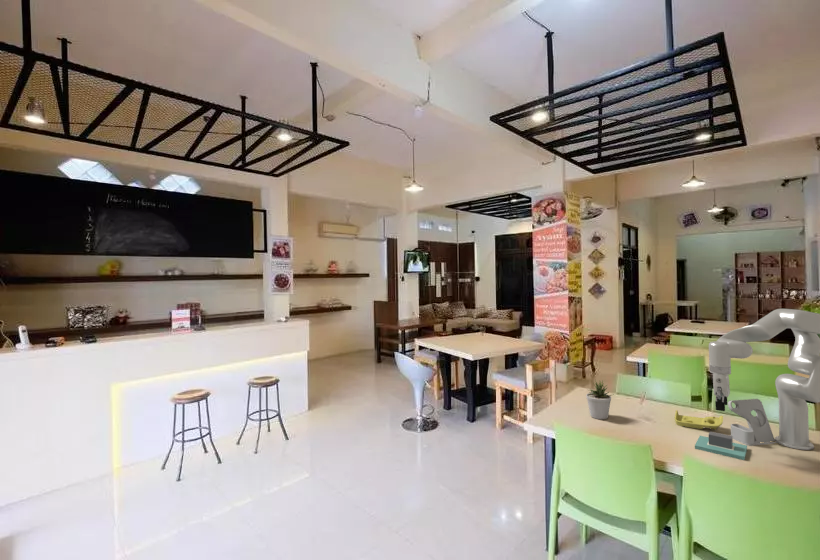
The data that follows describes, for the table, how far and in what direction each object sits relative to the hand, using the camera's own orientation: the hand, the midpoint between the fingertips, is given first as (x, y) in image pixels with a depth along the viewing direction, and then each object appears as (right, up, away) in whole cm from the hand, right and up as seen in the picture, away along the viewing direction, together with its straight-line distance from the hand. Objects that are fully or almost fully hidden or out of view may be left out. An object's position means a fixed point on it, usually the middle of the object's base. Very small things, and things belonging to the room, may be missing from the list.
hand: (721, 407), depth 174 cm
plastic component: (+8, -19, +25) cm, 32 cm away
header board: (0, -19, 0) cm, 19 cm away
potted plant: (-34, -19, +42) cm, 58 cm away
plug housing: (0, -17, 0) cm, 17 cm away
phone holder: (+22, -18, +8) cm, 29 cm away
